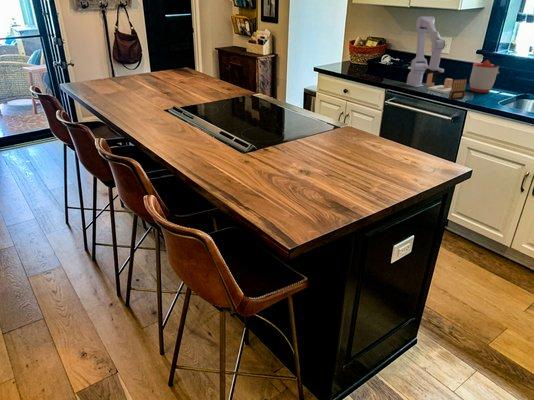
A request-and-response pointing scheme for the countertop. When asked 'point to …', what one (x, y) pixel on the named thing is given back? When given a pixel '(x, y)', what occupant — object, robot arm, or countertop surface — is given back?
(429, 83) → the jaw block
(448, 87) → the housing
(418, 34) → the robot arm
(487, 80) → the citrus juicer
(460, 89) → the ammunition clip
